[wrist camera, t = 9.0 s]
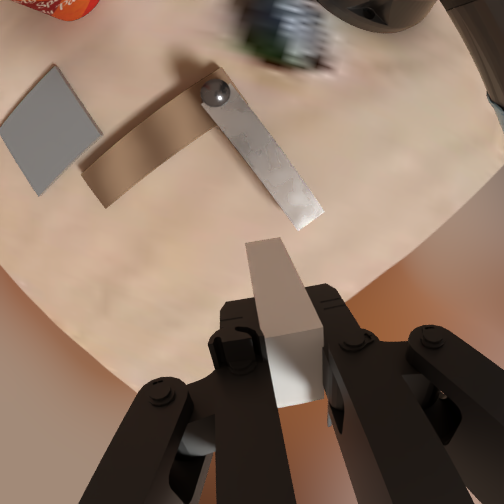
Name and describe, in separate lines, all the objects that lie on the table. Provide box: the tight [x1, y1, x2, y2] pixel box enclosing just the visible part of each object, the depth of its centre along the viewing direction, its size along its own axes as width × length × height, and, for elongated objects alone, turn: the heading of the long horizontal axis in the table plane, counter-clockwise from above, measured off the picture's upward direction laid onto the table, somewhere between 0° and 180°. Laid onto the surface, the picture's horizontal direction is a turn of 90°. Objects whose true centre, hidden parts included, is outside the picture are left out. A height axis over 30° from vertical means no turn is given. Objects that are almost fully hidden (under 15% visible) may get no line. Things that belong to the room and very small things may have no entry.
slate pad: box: [0, 66, 103, 197], centre depth 26 cm, size 10×10×1 cm
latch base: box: [81, 67, 248, 209], centre depth 28 cm, size 17×4×1 cm, turn 123°
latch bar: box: [200, 79, 324, 231], centre depth 27 cm, size 15×3×3 cm, turn 37°
